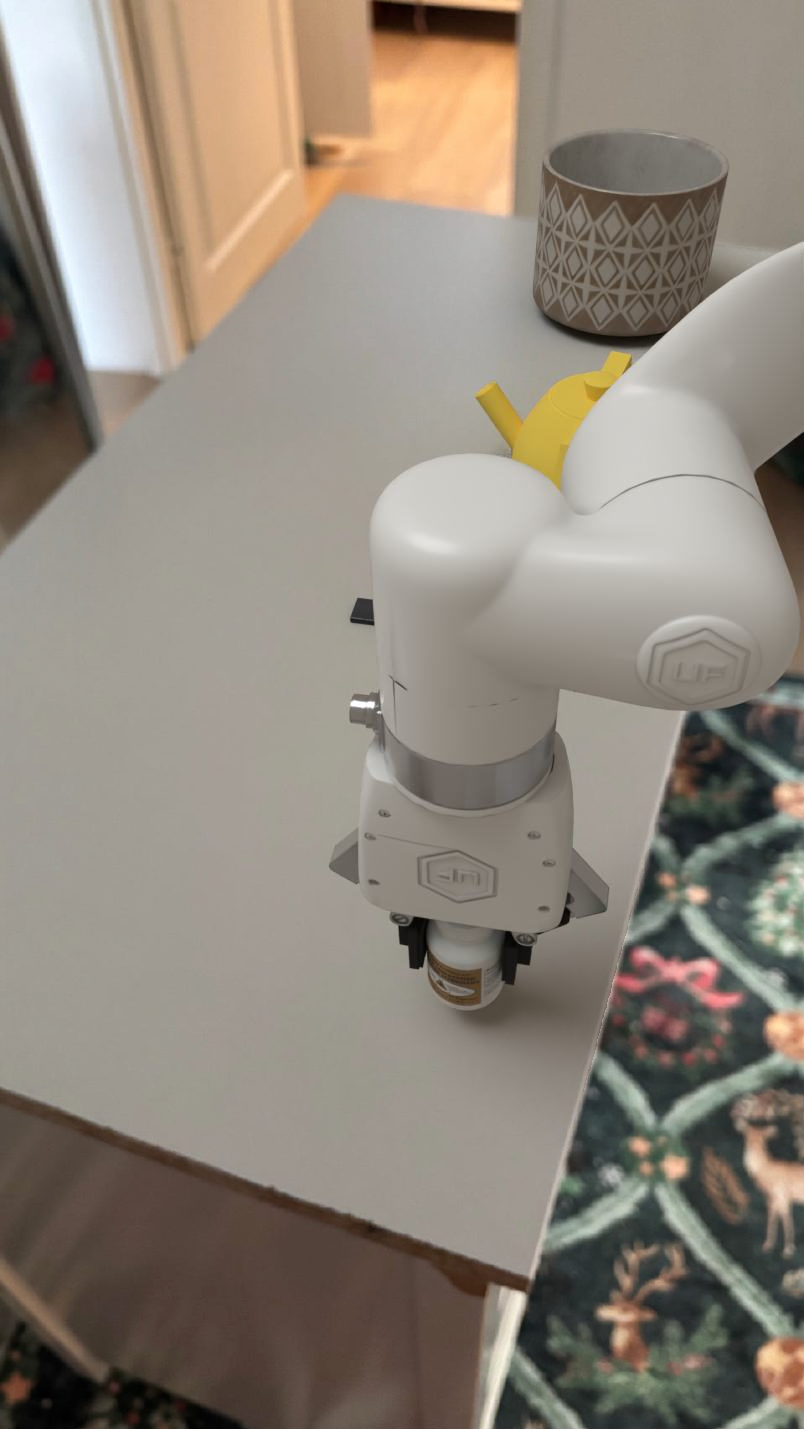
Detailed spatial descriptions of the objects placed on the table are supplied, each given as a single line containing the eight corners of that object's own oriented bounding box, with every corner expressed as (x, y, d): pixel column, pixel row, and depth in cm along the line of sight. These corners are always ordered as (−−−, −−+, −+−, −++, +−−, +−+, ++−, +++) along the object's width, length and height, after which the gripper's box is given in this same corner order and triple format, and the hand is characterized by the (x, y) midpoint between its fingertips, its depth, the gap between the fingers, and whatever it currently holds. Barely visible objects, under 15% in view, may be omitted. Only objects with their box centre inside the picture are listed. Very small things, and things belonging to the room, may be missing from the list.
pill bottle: (412, 986, 62) (407, 909, 56) (456, 932, 64) (456, 854, 59) (475, 1027, 60) (477, 952, 54) (519, 970, 62) (525, 893, 57)
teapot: (503, 411, 110) (509, 307, 102) (683, 445, 105) (704, 338, 97) (437, 521, 97) (438, 411, 89) (639, 565, 92) (659, 452, 84)
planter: (554, 265, 134) (567, 120, 122) (711, 287, 129) (741, 138, 117) (511, 335, 121) (522, 181, 109) (684, 362, 116) (714, 204, 105)
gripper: (258, 769, 46) (302, 988, 59) (661, 824, 43) (614, 1042, 56) (305, 651, 51) (336, 877, 64) (669, 694, 48) (623, 921, 61)
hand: (466, 952), depth 60 cm, fingers closed on pill bottle, 4 cm apart
